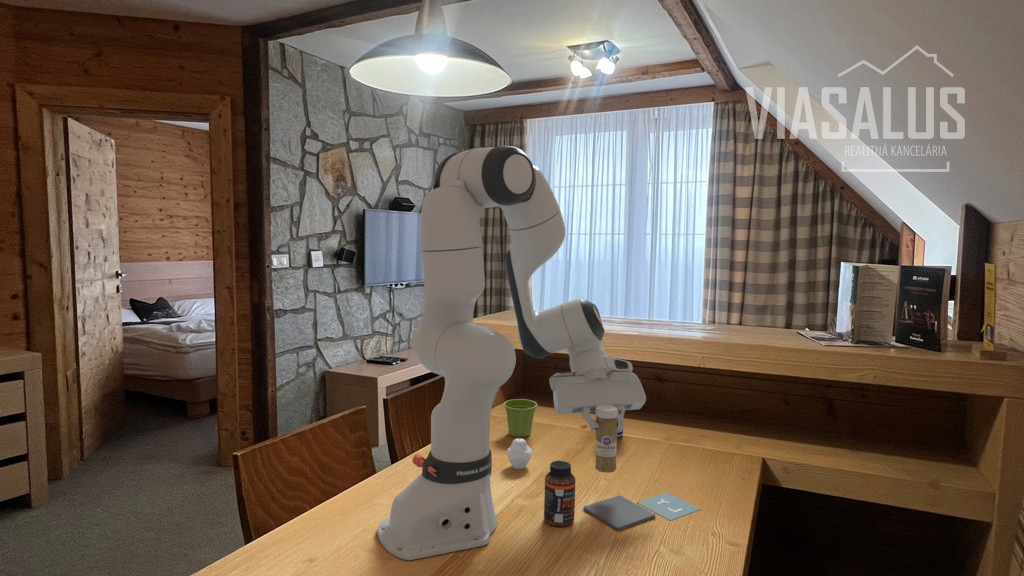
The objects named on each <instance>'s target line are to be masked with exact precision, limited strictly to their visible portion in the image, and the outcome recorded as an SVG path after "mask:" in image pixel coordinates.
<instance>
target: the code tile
mask: <svg viewBox="0 0 1024 576" xmlns="http://www.w3.org/2000/svg"><path fill="white" fill-rule="evenodd" d="M636 504H637V505H639V506H641V507H643V508H644V509H646V510H648V511H650V512H652V513H654V514H655V515H656V514H657V515H658V516H660V517H662V518H664V519H666V520H667V521H674V520H677V519H679V518H682V517H685V516H688V515H690V514H692V513H695V512H698V511H700V510H701V508H699V507H697V506H695V505H694V504H691V503H689V502H686V501H685V500H683V499H680V497H677V496H675V495H673V494H670V493H668V492H663V493H661V494H657V495H655V496H652V497H649V498H645V499H643V500H640V501H637V502H636Z"/></svg>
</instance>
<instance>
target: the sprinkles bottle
mask: <svg viewBox="0 0 1024 576" xmlns="http://www.w3.org/2000/svg"><path fill="white" fill-rule="evenodd" d="M595 416H596V417H595V418H596V420H597V419H598V424H599V429H598V430H595V465H594V467H595V470H597V471H598V472H601V473H605V474H607V473H614V472H616V471H617V450H618V448H617V447H618V446H617V444H618V443H617V442H618V439H617V438H618V437H617V417H618V408H617V407H615V406H612V405H601V406H597V407H596V412H595Z"/></svg>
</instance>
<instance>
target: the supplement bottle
mask: <svg viewBox="0 0 1024 576" xmlns="http://www.w3.org/2000/svg"><path fill="white" fill-rule="evenodd" d="M543 501H544V502H543V503H544V505H543V506H544V507H543V519H544V521H545V522H546V523H547V524H549V525H550V526H554V527H559V528H561V527H562V528H564V527H567V526H571V525H572V524H573V523H574V521H575V511H576V510H575V507H576V505H575V502H576V477H575V476H574V474H572V465H571V463H570V462H568V461H565V460H564V461H563V460H555V461H552V462H551V463H550V466H549V471H548V473H546V474H545V477H544V500H543Z"/></svg>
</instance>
